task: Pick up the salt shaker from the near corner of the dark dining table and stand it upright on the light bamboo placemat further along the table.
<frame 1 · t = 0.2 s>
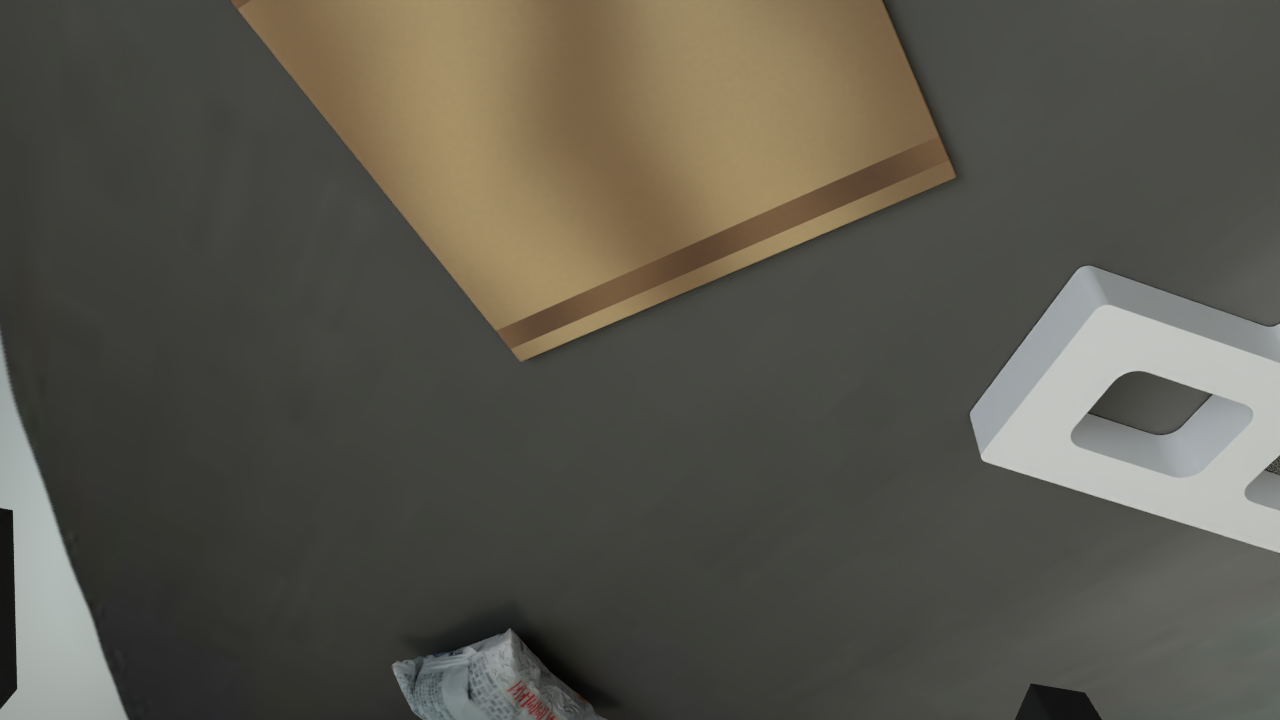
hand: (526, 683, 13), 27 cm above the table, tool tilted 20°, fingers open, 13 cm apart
packaged food: (517, 665, 61), on the table
placemat: (594, 68, 36), on the table
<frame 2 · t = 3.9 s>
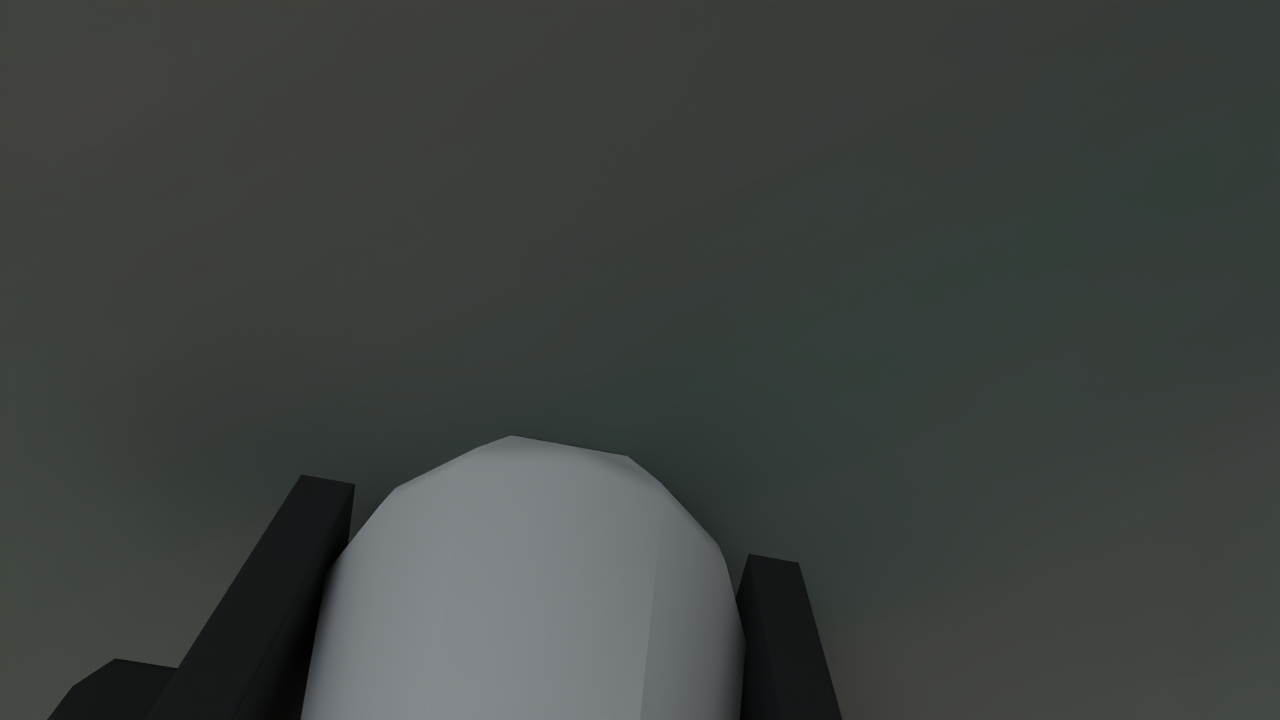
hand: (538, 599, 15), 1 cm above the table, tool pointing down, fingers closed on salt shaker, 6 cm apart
salt shaker: (547, 542, 16), on the table, touching gripper
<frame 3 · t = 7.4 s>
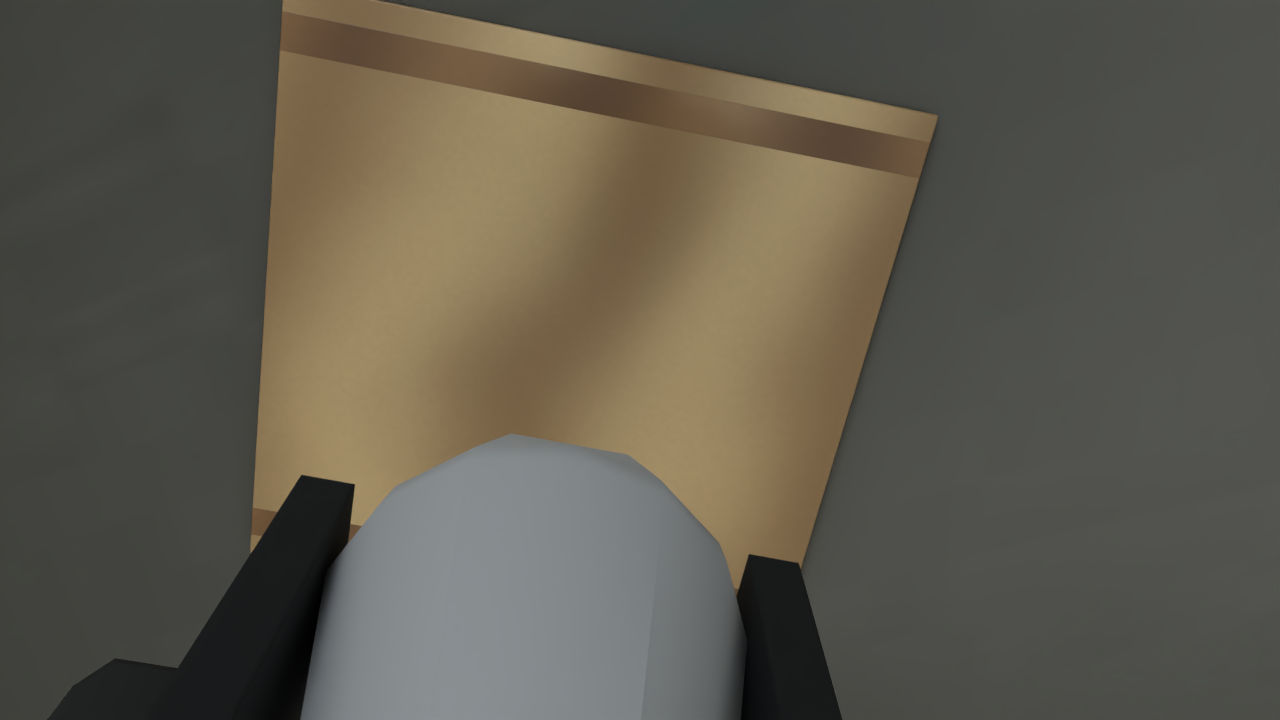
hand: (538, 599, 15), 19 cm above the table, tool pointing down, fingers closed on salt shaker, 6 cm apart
placemat: (564, 349, 34), on the table
salt shaker: (548, 541, 16), point 18 cm above the table, touching gripper
when the fingers open (2 cm above the table, at t = 10.7 s): salt shaker stays where it is, resting on placemat.
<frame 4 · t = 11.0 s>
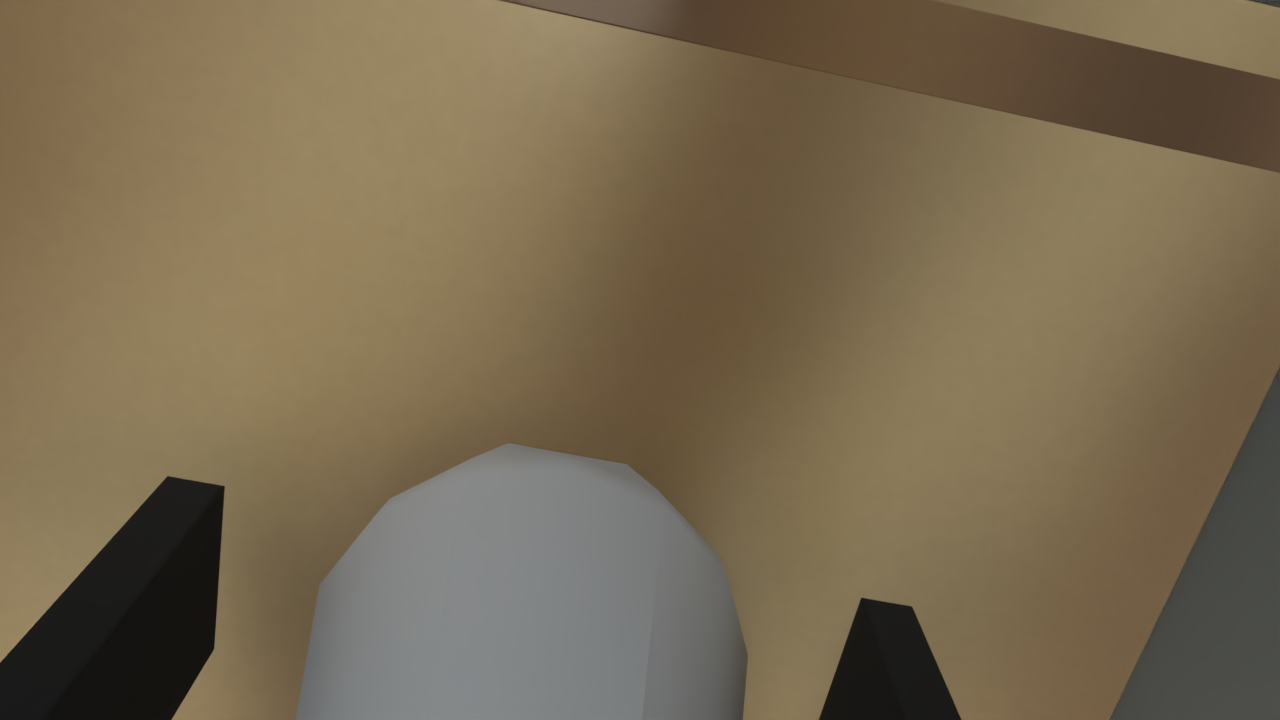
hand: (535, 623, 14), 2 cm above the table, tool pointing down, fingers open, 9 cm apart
placemat: (546, 544, 16), on the table
salt shaker: (546, 551, 16), resting on placemat
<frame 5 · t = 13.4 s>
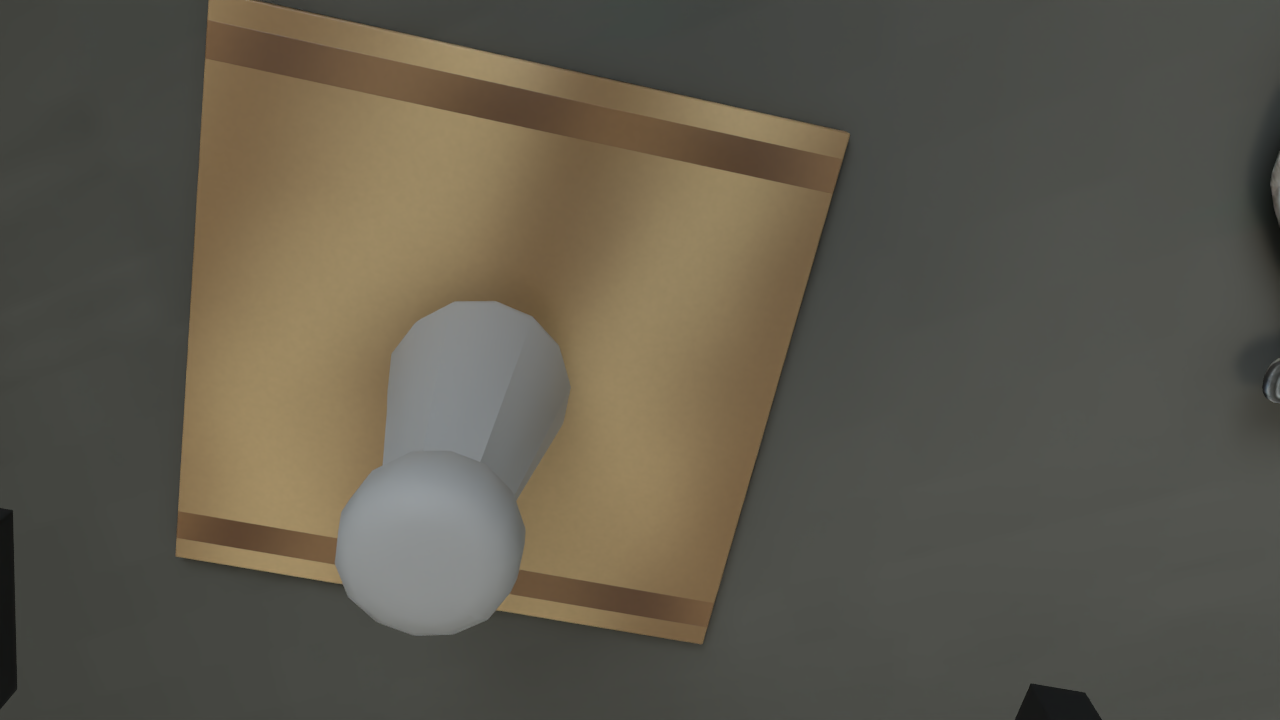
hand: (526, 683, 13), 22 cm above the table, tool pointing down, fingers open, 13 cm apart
placemat: (489, 356, 35), on the table
salt shaker: (488, 359, 34), resting on placemat
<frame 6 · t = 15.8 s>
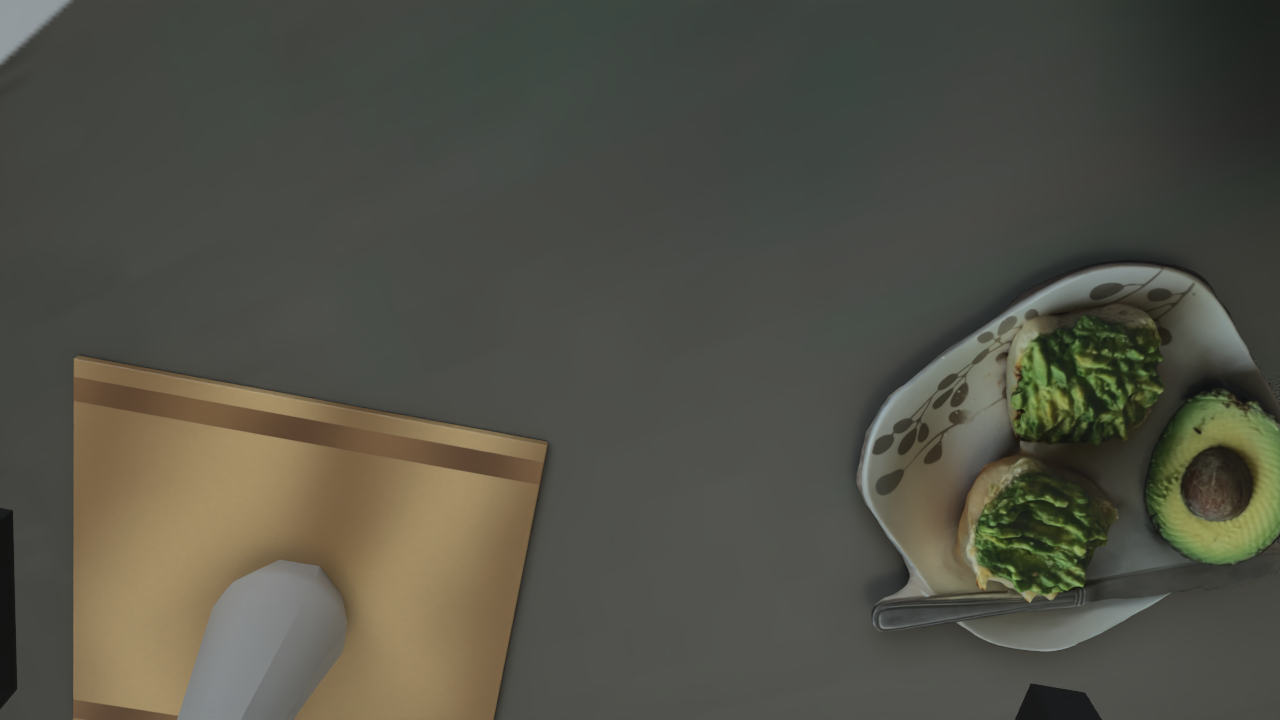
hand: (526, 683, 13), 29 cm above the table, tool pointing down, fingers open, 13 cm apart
salad plate: (1076, 454, 44), on the table
placemat: (298, 591, 46), on the table
salt shaker: (297, 594, 46), resting on placemat
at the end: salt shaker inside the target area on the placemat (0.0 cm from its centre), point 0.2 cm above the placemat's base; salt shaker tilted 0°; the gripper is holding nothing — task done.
